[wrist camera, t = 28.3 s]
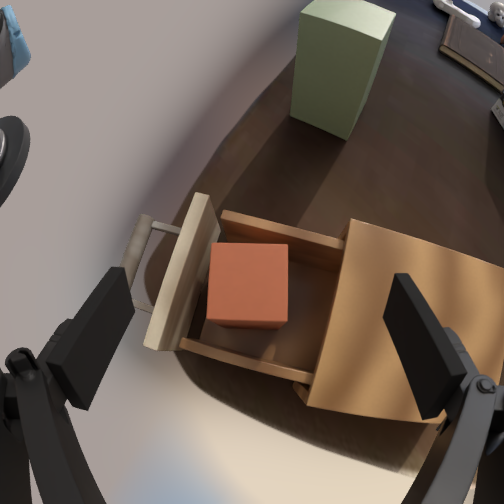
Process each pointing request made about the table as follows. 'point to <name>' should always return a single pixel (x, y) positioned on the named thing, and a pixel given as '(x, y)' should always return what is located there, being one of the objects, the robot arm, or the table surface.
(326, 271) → the drawer
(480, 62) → the hardcover book
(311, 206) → the table surface
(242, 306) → the block
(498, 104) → the tea box
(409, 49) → the table surface
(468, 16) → the game controller
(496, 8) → the toy rhinoceros
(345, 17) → the stand
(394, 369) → the cabinet
